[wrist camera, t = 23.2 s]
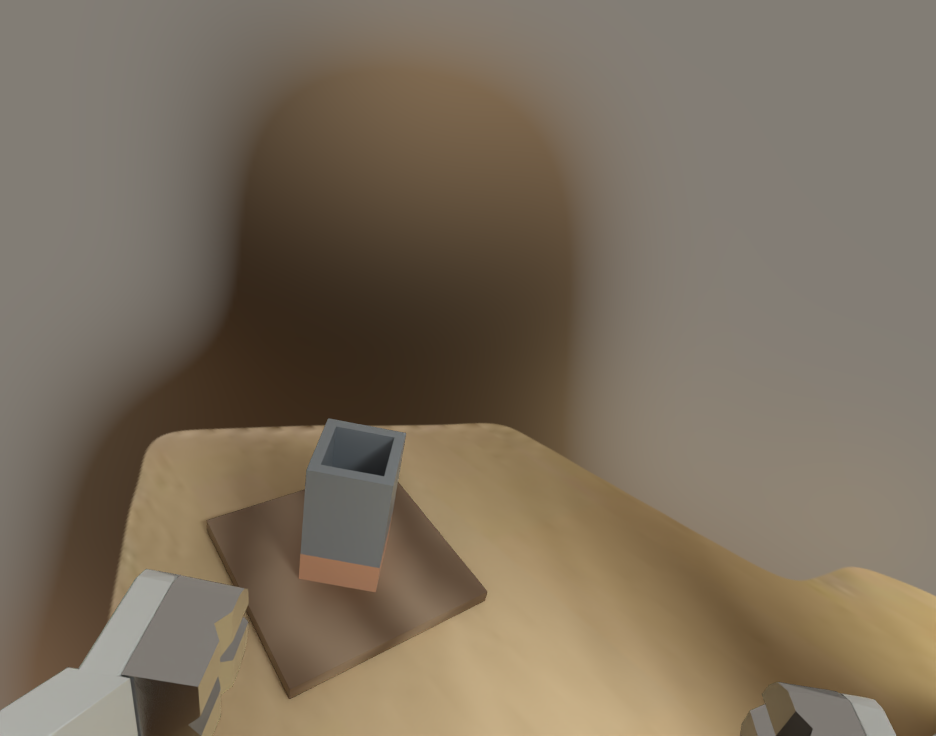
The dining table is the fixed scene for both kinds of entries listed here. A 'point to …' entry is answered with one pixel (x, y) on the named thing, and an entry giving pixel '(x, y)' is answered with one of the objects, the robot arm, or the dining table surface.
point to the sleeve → (349, 504)
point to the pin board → (338, 589)
